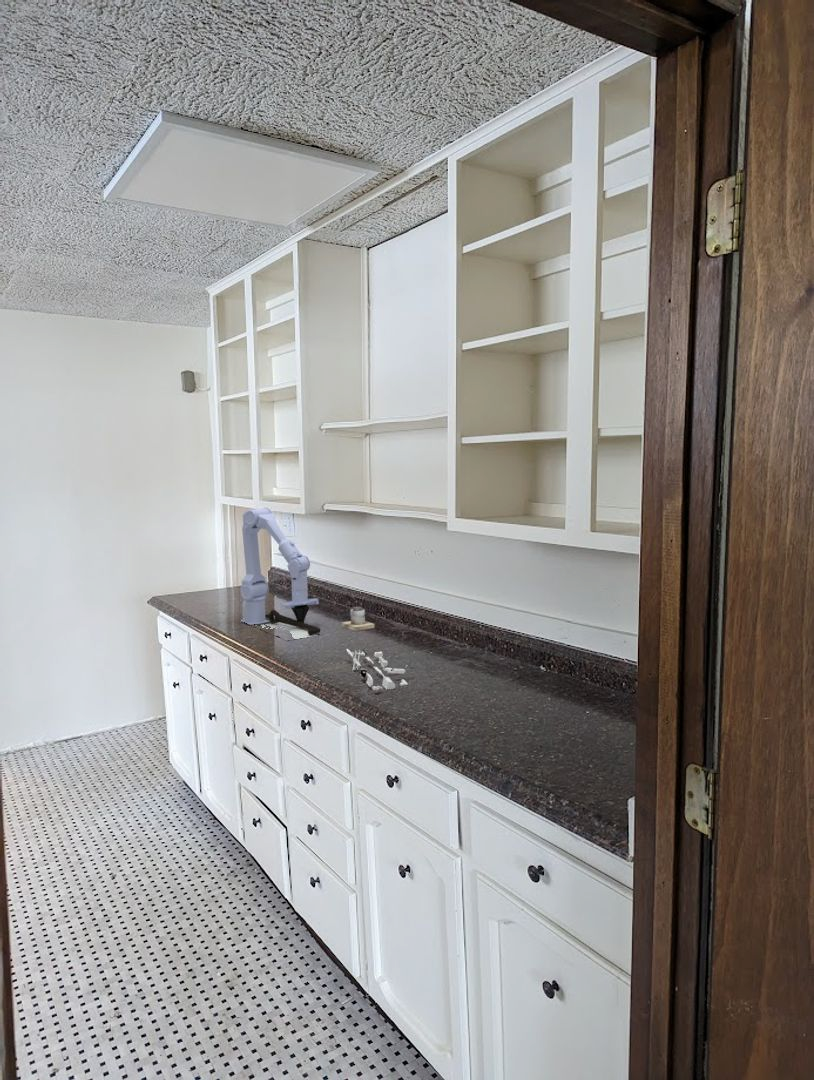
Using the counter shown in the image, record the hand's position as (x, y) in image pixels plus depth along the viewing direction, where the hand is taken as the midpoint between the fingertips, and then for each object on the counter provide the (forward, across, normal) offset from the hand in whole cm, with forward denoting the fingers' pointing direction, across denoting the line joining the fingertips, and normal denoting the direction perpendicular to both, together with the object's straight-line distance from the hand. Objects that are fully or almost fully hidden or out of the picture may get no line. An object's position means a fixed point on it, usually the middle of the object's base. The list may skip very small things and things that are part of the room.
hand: (300, 625), depth 260 cm
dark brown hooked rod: (+1, -4, +1) cm, 4 cm away
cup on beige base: (+1, +17, -12) cm, 21 cm away
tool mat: (+1, -7, 0) cm, 7 cm away
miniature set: (+2, -10, -65) cm, 65 cm away
